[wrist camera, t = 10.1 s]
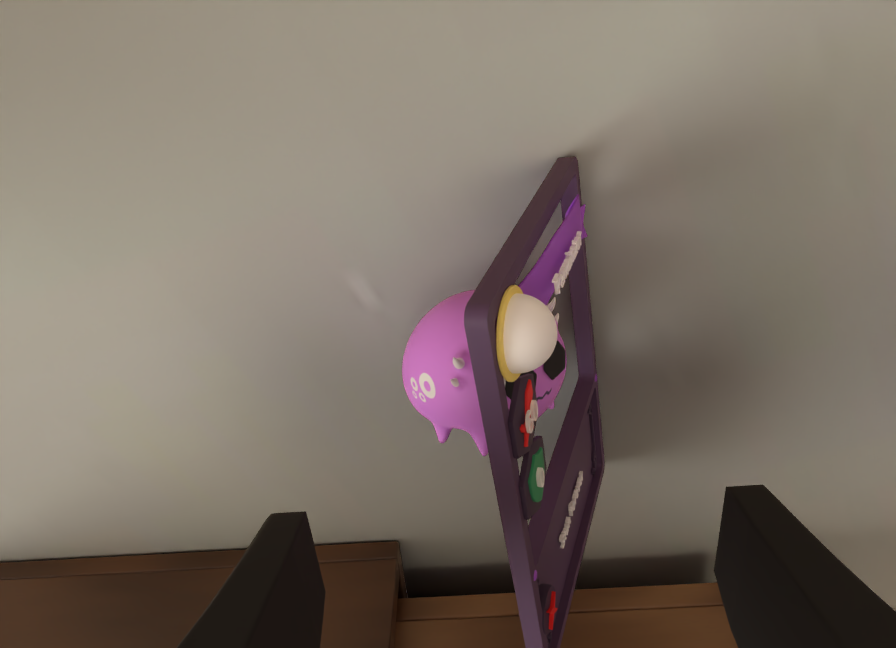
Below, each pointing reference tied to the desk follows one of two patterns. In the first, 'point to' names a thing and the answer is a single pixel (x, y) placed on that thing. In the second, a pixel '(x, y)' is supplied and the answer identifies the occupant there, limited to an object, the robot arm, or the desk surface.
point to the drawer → (573, 619)
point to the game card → (523, 398)
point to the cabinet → (184, 597)
